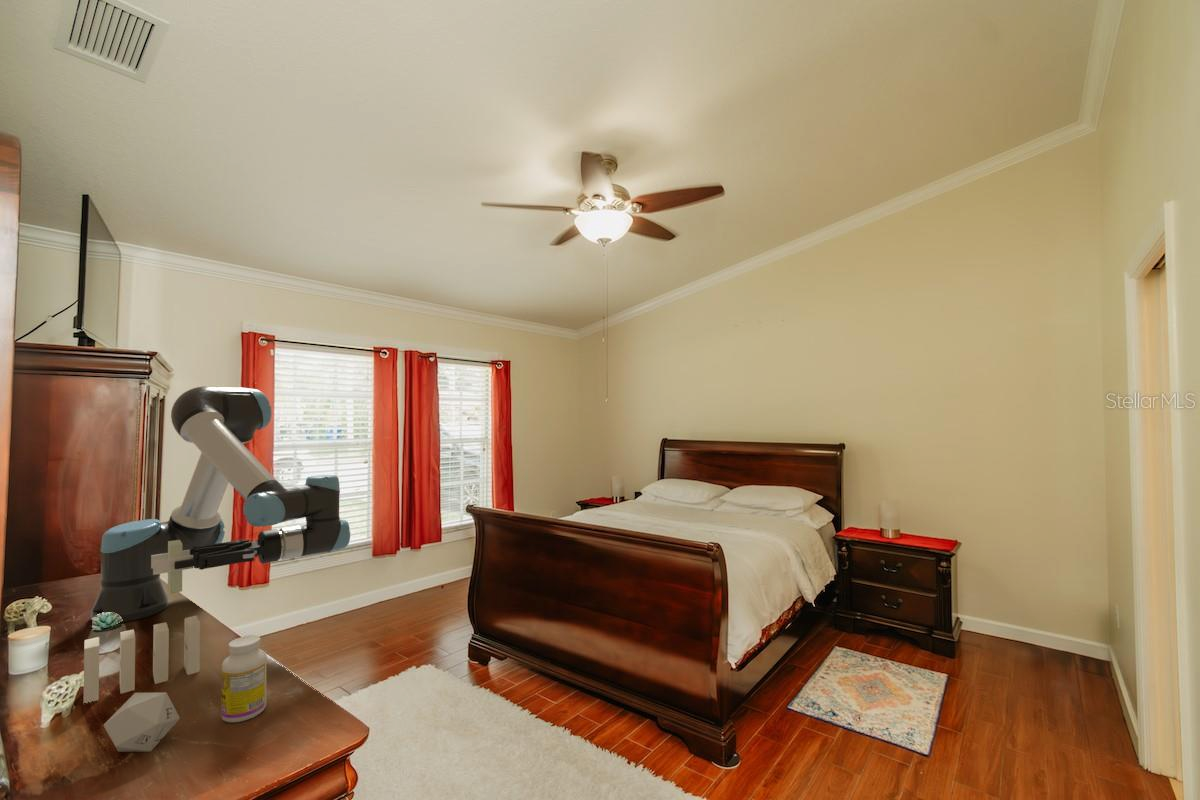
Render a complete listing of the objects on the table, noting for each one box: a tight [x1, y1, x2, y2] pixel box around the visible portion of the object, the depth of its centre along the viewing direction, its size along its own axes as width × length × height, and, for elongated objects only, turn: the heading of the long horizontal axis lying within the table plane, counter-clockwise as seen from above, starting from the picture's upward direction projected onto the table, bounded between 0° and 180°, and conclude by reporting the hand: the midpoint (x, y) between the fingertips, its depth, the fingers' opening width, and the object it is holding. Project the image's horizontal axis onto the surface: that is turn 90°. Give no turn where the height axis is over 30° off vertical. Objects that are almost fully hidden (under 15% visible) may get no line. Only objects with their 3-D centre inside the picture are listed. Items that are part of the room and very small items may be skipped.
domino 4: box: [183, 615, 201, 676], centre depth 109 cm, size 2×5×10 cm, turn 44°
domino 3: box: [167, 540, 183, 594], centre depth 113 cm, size 2×5×10 cm, turn 44°
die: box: [103, 692, 181, 753], centre depth 84 cm, size 8×9×10 cm
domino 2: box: [119, 628, 136, 695], centre depth 102 cm, size 2×5×10 cm, turn 44°
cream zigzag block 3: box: [152, 622, 170, 685], centre depth 106 cm, size 2×5×10 cm, turn 44°
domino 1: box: [82, 636, 100, 705], centre depth 99 cm, size 2×5×10 cm, turn 44°
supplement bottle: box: [220, 634, 268, 724], centre depth 93 cm, size 7×7×13 cm
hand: (152, 564), depth 110 cm, fingers closed on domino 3, 5 cm apart
